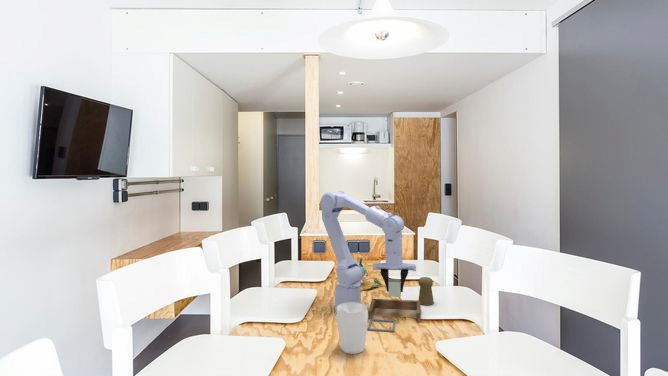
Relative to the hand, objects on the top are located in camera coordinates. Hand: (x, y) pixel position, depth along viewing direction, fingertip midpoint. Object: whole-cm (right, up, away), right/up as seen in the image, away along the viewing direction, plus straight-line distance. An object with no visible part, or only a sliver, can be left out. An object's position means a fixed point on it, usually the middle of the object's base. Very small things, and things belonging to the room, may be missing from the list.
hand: (394, 290), depth 128 cm
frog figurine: (-8, -9, +36) cm, 37 cm away
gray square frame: (-6, -10, -10) cm, 15 cm away
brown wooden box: (0, -10, 0) cm, 10 cm away
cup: (-15, -11, -21) cm, 28 cm away
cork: (+13, -9, +10) cm, 19 cm away
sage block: (0, -1, 0) cm, 1 cm away
